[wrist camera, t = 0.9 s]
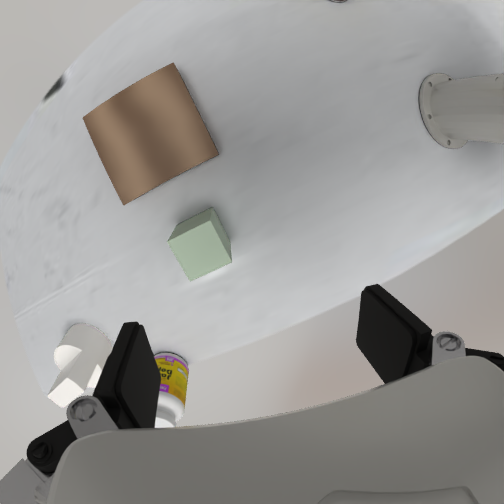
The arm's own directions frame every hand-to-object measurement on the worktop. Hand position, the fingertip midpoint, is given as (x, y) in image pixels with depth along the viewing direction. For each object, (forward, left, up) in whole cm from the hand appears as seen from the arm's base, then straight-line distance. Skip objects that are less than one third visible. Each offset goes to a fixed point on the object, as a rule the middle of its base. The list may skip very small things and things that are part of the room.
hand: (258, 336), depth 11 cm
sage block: (+5, +1, -25) cm, 25 cm away
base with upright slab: (+32, +9, -25) cm, 41 cm away
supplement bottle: (+21, +18, -25) cm, 37 cm away
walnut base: (+5, -13, -25) cm, 29 cm away
